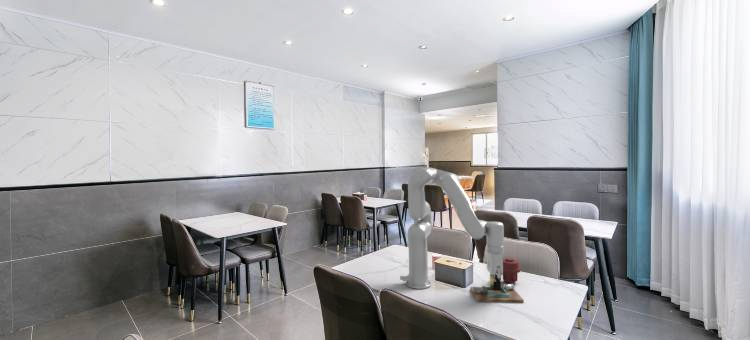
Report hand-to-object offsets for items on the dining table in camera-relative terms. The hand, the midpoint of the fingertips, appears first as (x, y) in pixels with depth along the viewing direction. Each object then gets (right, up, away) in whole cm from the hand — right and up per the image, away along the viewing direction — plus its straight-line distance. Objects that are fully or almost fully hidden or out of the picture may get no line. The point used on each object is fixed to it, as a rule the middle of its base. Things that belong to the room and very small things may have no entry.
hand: (495, 287), depth 149 cm
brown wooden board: (0, -4, 0) cm, 4 cm away
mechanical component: (+14, -4, +16) cm, 21 cm away
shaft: (+8, -4, +3) cm, 9 cm away
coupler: (0, -1, 0) cm, 1 cm away
